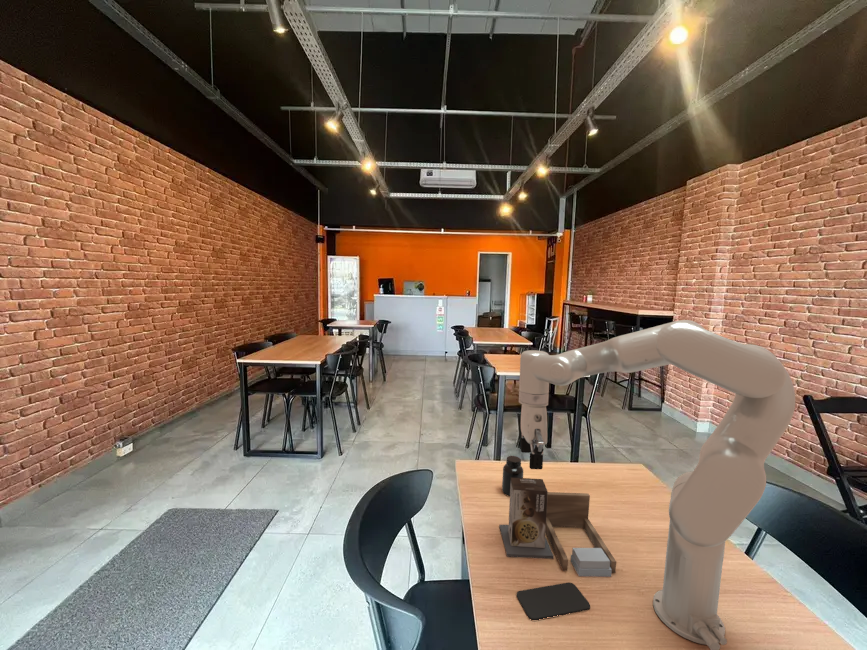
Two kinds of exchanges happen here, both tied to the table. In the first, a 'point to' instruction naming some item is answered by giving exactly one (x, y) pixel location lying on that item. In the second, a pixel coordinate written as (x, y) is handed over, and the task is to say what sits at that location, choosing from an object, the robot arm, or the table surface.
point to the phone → (552, 601)
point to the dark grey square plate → (524, 551)
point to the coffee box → (527, 512)
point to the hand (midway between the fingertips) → (531, 460)
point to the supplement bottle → (511, 472)
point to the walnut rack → (571, 523)
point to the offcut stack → (591, 562)
